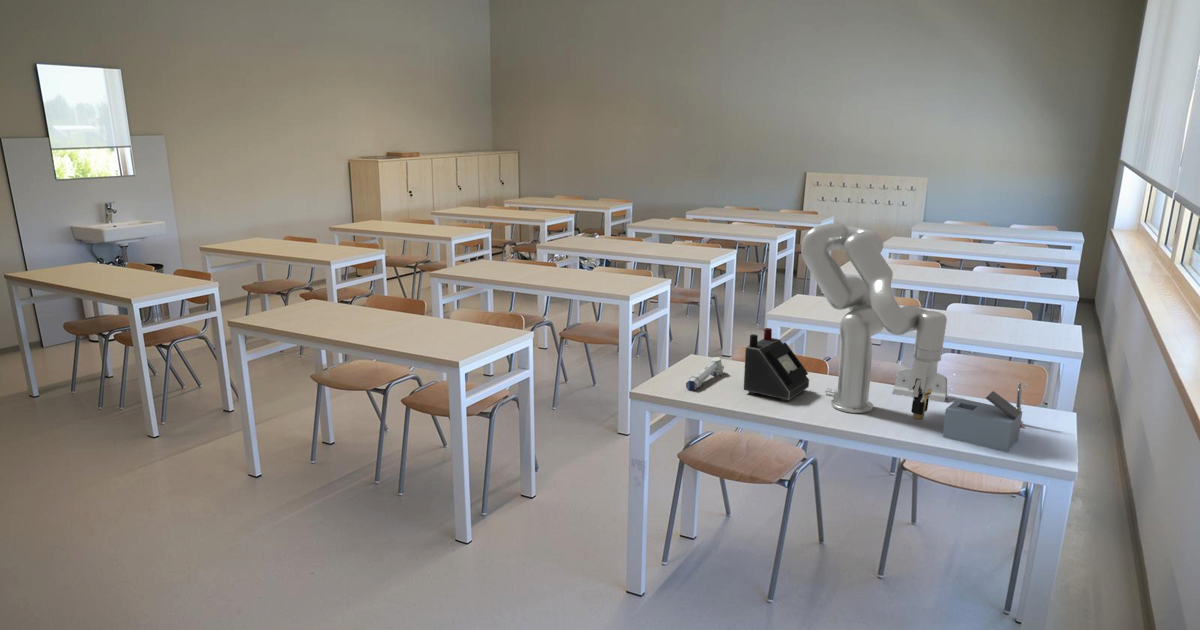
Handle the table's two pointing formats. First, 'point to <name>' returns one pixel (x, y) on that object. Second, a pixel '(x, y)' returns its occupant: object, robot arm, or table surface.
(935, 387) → the hinge
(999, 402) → the grey flat rectangular plate
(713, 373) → the grey blue-ended cylinder
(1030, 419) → the table surface
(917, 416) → the brass pin
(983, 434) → the grey rectangular box
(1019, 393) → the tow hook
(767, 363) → the voltmeter
